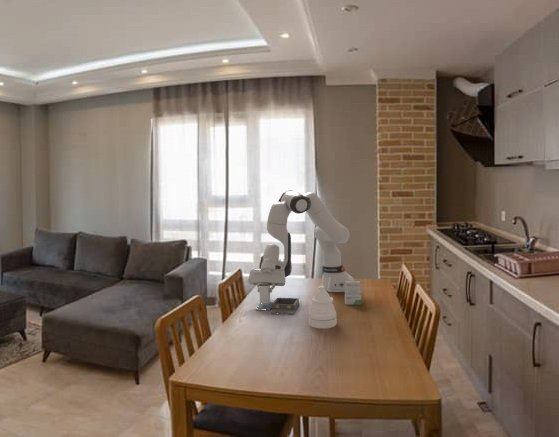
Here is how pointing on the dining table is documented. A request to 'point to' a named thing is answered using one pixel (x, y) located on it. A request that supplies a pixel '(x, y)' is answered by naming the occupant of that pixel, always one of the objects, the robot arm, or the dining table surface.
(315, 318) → the honey pot
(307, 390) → the dining table surface
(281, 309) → the equipment case
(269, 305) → the mat
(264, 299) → the block
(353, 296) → the ink box
